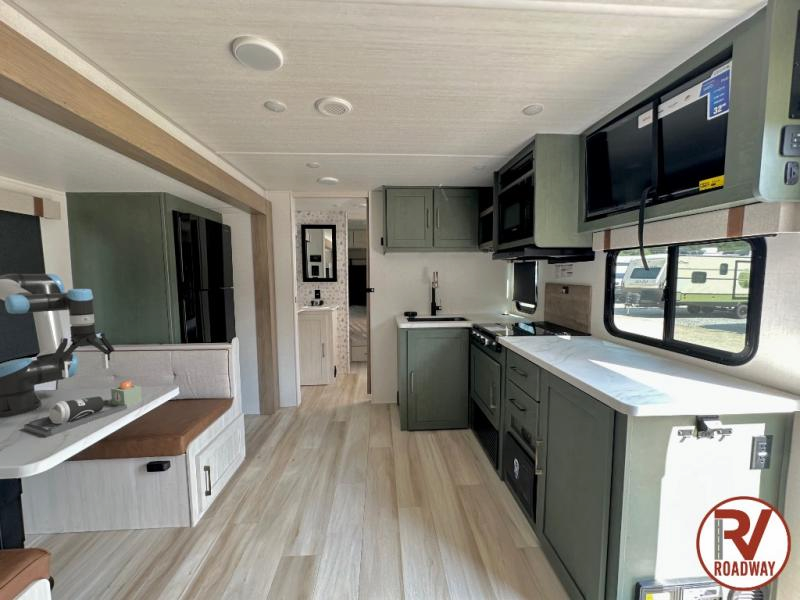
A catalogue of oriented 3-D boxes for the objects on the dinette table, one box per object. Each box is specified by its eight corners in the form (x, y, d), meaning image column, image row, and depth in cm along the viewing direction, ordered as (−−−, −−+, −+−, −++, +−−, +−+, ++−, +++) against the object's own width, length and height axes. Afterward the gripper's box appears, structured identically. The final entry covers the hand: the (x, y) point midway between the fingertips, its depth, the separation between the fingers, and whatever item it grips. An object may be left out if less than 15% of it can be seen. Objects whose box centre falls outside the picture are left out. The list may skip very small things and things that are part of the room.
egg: (119, 395, 151) (118, 383, 151) (128, 392, 155) (127, 380, 154) (124, 396, 150) (123, 384, 149) (133, 393, 153) (132, 381, 153)
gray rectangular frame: (24, 429, 127) (23, 423, 127) (105, 404, 151) (104, 399, 151) (46, 437, 121) (45, 431, 120) (127, 409, 145) (126, 404, 145)
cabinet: (110, 405, 151) (109, 389, 150) (129, 399, 158) (128, 383, 157) (123, 408, 147) (122, 391, 146) (141, 402, 154) (140, 386, 153)
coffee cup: (109, 401, 143) (66, 412, 128) (100, 418, 144) (56, 430, 129) (97, 388, 145) (54, 397, 130) (88, 405, 146) (44, 415, 132)
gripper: (46, 329, 123) (51, 382, 125) (121, 321, 147) (125, 365, 148) (36, 328, 126) (41, 380, 128) (112, 320, 149) (115, 364, 151)
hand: (86, 372), depth 138 cm, fingers open, 13 cm apart
